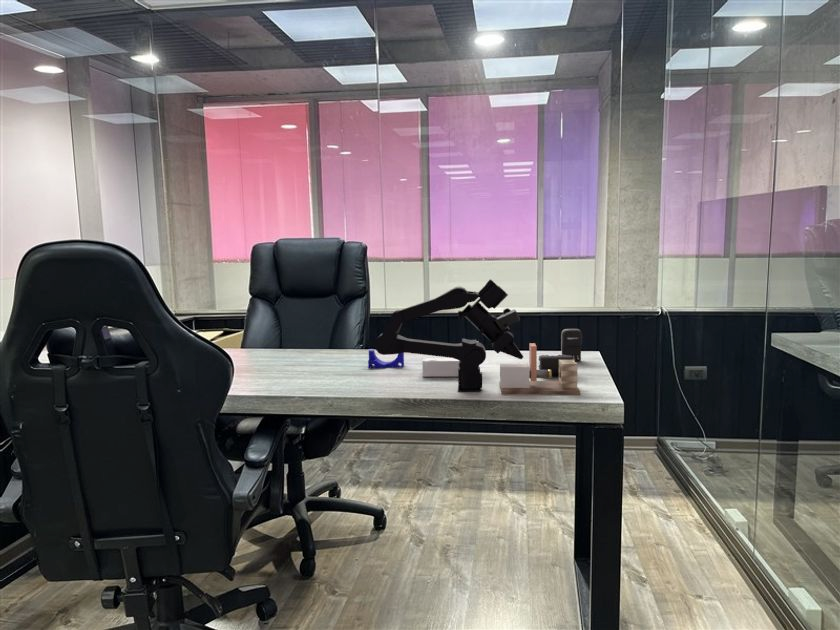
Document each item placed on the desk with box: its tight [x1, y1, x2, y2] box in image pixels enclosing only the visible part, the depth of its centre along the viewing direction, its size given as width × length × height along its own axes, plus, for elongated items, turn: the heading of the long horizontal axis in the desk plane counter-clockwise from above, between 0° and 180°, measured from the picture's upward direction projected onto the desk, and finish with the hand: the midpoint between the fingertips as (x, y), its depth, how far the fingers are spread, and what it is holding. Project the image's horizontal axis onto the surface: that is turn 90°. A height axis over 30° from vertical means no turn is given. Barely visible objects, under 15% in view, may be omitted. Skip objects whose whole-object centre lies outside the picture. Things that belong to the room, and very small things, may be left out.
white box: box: [421, 340, 479, 377], centre depth 185 cm, size 18×10×10 cm, turn 85°
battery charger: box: [560, 328, 583, 362], centre depth 200 cm, size 7×4×11 cm, turn 84°
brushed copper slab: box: [528, 342, 553, 381], centre depth 162 cm, size 13×5×10 cm, turn 85°
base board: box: [499, 380, 581, 396], centre depth 163 cm, size 22×12×1 cm, turn 85°
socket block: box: [558, 360, 578, 388], centre depth 162 cm, size 4×6×7 cm
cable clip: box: [367, 349, 405, 369], centre depth 198 cm, size 12×4×6 cm, turn 85°
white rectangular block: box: [499, 363, 530, 388], centre depth 163 cm, size 8×5×6 cm, turn 85°
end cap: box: [537, 354, 573, 377], centre depth 179 cm, size 10×7×7 cm
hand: (522, 358), depth 162 cm, fingers closed
